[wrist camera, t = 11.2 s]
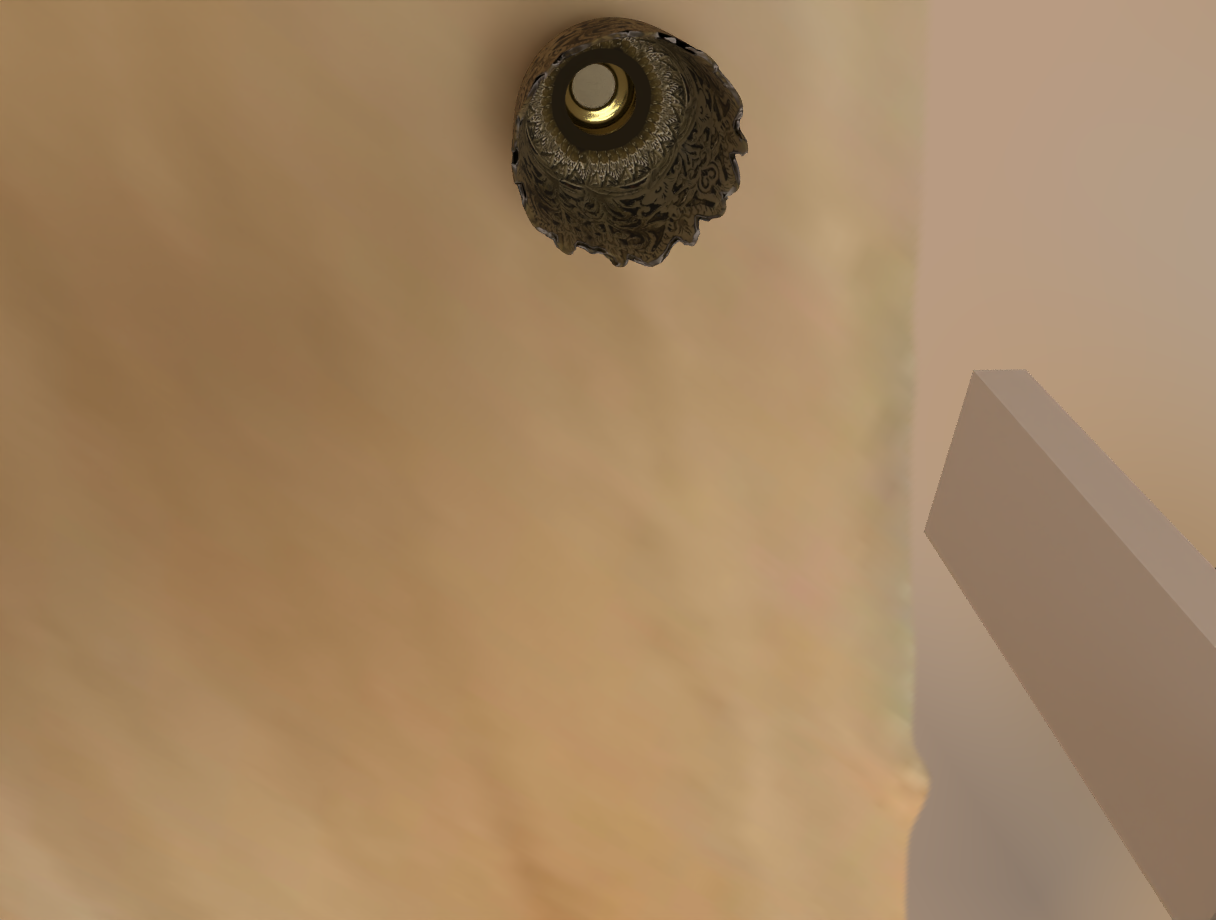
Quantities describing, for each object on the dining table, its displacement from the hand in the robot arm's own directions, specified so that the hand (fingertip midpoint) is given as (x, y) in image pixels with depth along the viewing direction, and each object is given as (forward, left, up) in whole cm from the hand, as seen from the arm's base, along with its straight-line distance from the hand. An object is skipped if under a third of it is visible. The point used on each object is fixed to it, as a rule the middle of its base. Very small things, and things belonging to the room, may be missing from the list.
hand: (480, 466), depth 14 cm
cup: (+6, -3, -29) cm, 30 cm away
